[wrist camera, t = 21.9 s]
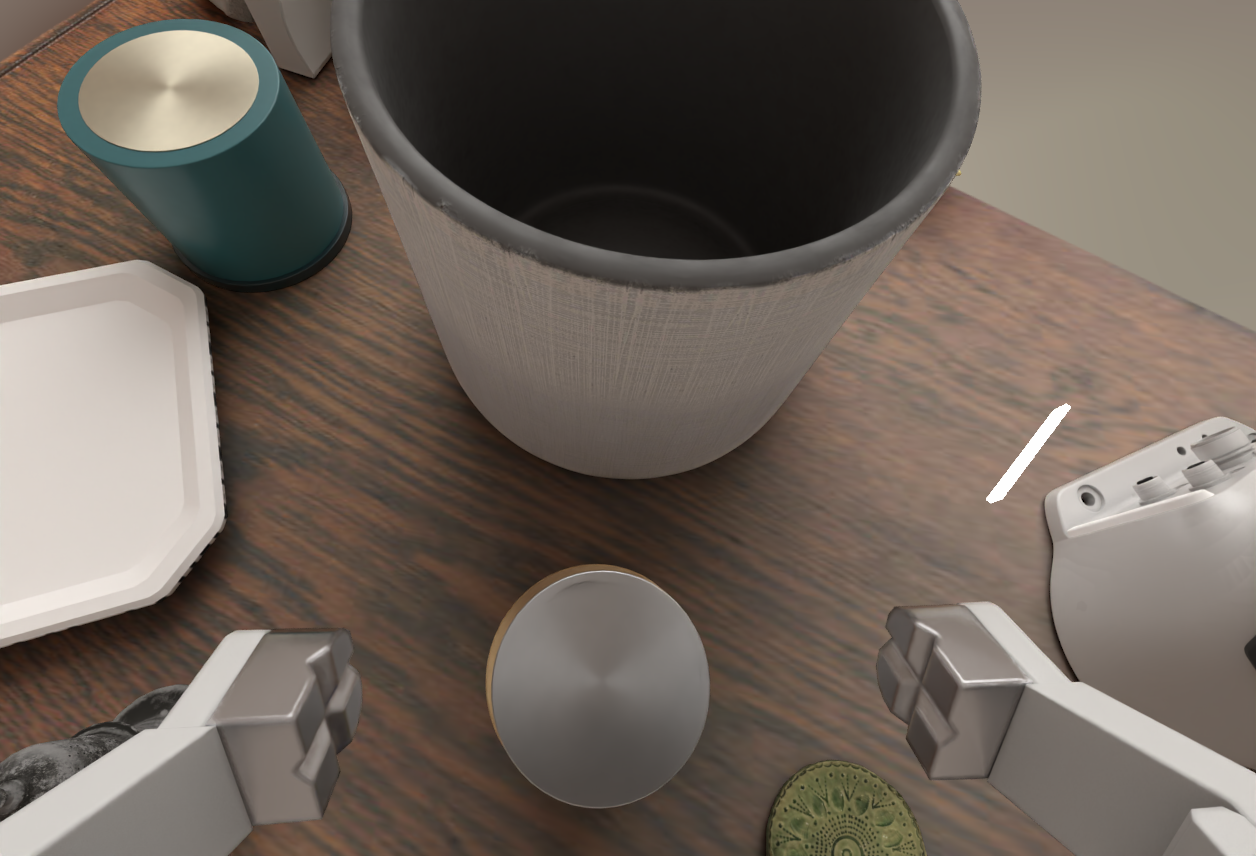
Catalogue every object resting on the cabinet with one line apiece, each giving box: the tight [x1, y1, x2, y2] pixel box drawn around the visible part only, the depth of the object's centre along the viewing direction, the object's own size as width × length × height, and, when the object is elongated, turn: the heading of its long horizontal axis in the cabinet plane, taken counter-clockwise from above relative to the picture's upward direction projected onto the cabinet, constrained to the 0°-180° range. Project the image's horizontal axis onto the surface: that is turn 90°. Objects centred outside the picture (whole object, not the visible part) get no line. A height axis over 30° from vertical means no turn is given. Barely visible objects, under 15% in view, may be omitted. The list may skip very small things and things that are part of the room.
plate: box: [0, 260, 228, 648], centre depth 32 cm, size 21×21×2 cm
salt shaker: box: [0, 684, 189, 822], centre depth 23 cm, size 6×6×12 cm
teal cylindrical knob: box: [57, 19, 352, 292], centre depth 35 cm, size 11×11×10 cm
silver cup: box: [491, 570, 710, 809], centre depth 21 cm, size 6×6×8 cm
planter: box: [330, 0, 981, 479], centre depth 30 cm, size 23×23×20 cm
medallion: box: [766, 760, 927, 856], centre depth 29 cm, size 8×8×1 cm
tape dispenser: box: [245, 0, 333, 78], centre depth 43 cm, size 19×9×6 cm, turn 72°
